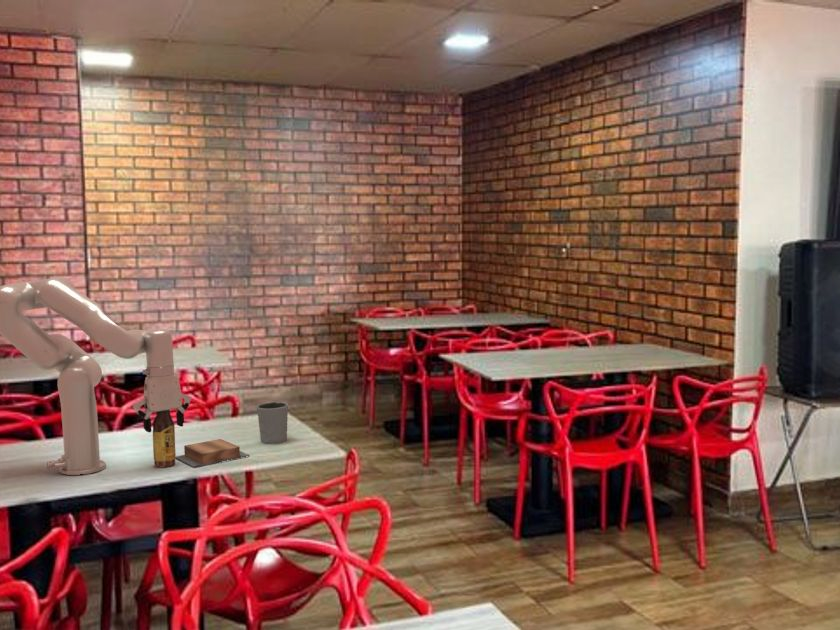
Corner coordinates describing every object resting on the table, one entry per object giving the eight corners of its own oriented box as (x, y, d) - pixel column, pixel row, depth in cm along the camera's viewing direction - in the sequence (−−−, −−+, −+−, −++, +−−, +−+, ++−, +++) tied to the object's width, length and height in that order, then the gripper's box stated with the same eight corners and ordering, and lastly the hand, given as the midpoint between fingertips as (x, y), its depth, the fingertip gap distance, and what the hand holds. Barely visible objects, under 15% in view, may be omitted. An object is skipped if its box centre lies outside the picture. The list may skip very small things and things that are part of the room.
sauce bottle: (169, 468, 240) (166, 401, 238) (149, 467, 241) (146, 401, 239) (180, 462, 246) (177, 397, 244) (161, 461, 247) (157, 396, 245)
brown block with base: (193, 468, 240) (193, 456, 239) (174, 458, 250) (174, 447, 250) (249, 456, 251) (249, 445, 250) (228, 447, 262) (228, 436, 261)
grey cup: (291, 436, 275) (289, 401, 273) (287, 444, 265) (285, 407, 263) (260, 437, 274) (259, 402, 273) (255, 445, 264) (254, 408, 263)
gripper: (136, 377, 232) (140, 436, 234) (194, 369, 243) (197, 425, 245) (126, 374, 238) (130, 431, 240) (183, 366, 249) (187, 421, 251)
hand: (164, 428), depth 242 cm, fingers open, 9 cm apart
